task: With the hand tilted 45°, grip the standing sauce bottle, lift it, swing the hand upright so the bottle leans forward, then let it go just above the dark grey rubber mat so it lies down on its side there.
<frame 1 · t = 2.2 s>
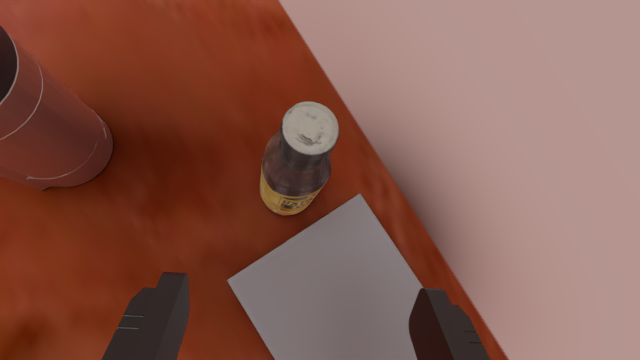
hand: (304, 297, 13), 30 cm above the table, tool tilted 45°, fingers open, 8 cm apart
sauce bottle: (287, 190, 45), on the table
slate mat: (344, 310, 42), on the table
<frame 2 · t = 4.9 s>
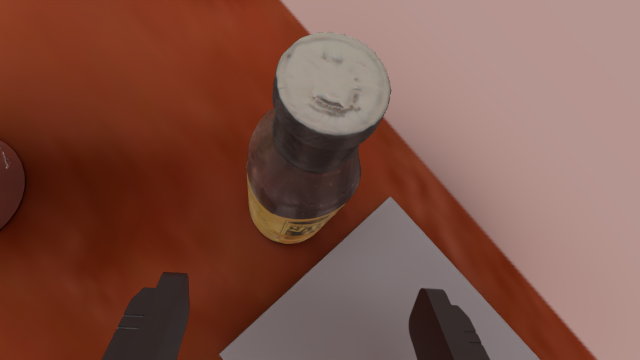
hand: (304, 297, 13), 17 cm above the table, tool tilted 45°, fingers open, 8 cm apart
sauce bottle: (288, 207, 31), on the table
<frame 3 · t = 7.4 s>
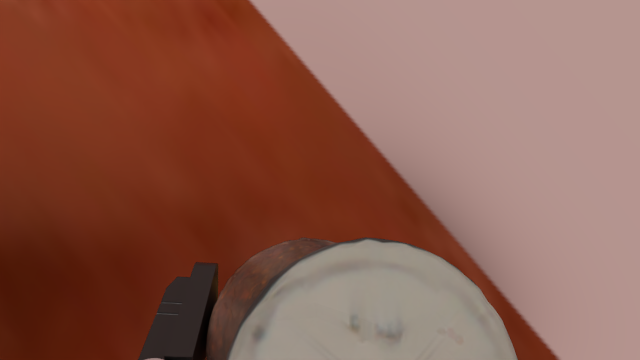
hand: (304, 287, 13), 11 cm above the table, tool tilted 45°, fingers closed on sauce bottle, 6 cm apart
sauce bottle: (284, 312, 24), on the table, touching gripper
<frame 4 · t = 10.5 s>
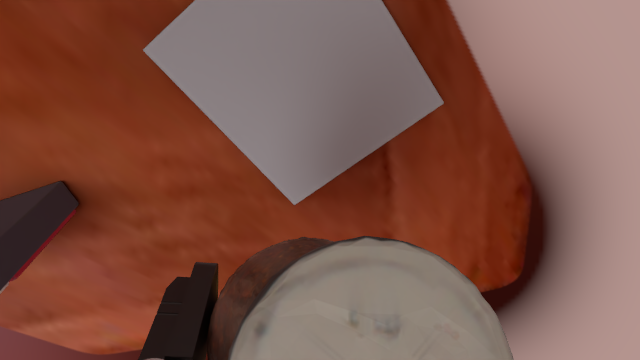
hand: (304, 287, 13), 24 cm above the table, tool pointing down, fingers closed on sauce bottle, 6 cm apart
sauce bottle: (283, 312, 24), point 18 cm above the table, touching gripper
slate mat: (301, 75, 34), on the table
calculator: (27, 206, 39), on the table
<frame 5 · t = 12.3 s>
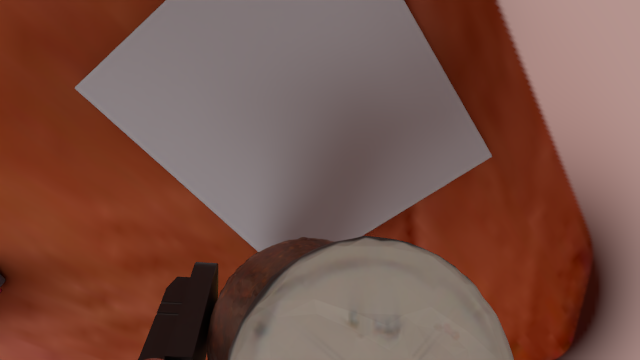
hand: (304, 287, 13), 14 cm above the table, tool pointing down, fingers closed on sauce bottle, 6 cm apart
sauce bottle: (283, 312, 24), point 7 cm above the table, touching gripper
slate mat: (300, 120, 25), on the table
when the fingers open (10 cm above the table, at t = 13.7 s): sauce bottle moves 2 cm, resting on slate mat.
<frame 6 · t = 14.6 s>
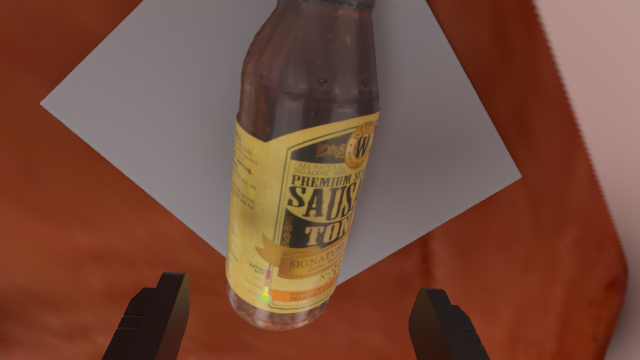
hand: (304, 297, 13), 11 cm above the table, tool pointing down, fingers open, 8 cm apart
sauce bottle: (280, 293, 22), point 4 cm above the table, touching slate mat
slate mat: (303, 138, 21), on the table
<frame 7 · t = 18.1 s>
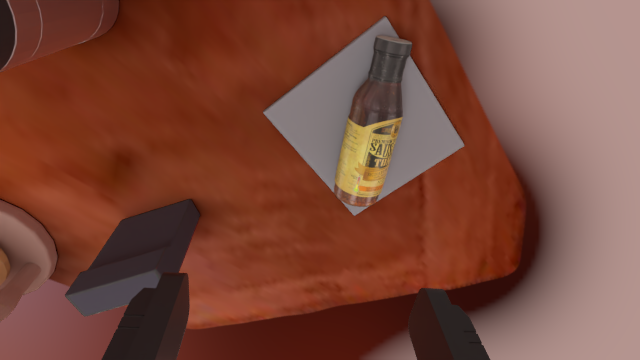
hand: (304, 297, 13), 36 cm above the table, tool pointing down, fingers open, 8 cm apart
sauce bottle: (355, 197, 50), point 4 cm above the table, touching slate mat
slate mat: (367, 127, 49), on the table
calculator: (162, 216, 54), on the table
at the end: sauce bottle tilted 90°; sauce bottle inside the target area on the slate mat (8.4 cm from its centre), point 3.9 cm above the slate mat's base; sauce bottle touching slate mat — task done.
